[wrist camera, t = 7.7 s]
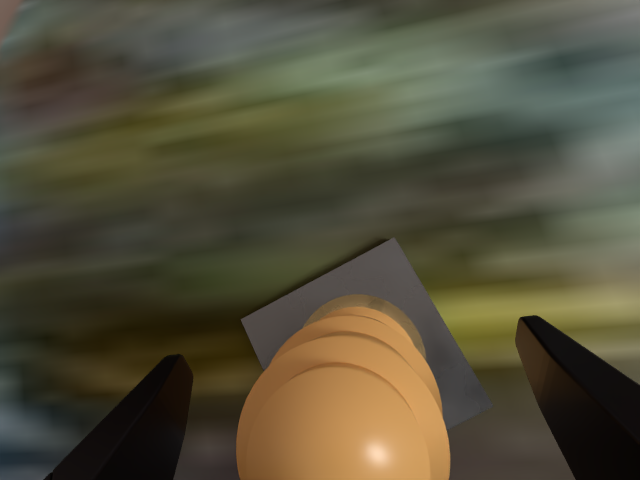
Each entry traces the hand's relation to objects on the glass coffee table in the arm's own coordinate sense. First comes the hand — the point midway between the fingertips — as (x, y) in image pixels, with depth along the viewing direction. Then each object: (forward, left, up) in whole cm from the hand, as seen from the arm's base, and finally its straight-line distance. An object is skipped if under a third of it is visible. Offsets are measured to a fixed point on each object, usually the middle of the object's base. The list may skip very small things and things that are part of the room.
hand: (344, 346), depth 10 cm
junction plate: (0, -1, -8) cm, 8 cm away
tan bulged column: (0, -1, -8) cm, 8 cm away
